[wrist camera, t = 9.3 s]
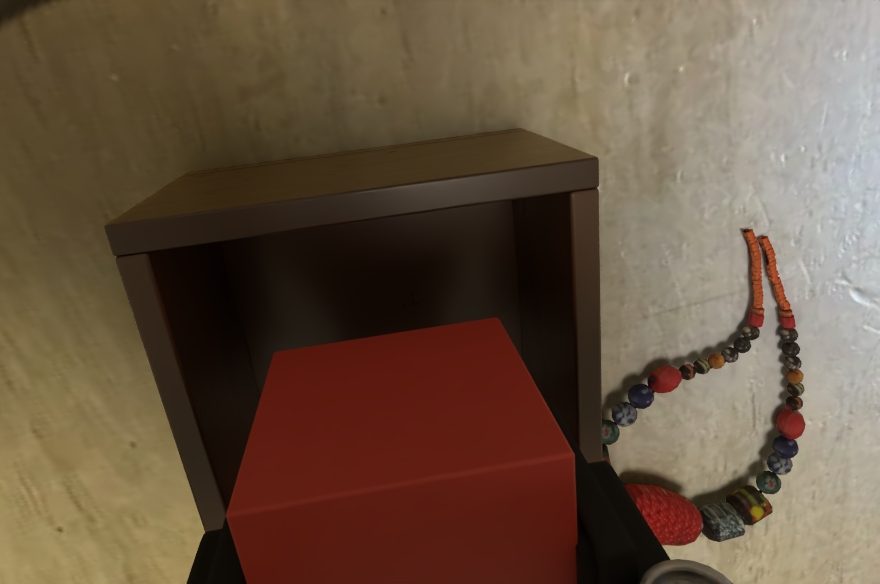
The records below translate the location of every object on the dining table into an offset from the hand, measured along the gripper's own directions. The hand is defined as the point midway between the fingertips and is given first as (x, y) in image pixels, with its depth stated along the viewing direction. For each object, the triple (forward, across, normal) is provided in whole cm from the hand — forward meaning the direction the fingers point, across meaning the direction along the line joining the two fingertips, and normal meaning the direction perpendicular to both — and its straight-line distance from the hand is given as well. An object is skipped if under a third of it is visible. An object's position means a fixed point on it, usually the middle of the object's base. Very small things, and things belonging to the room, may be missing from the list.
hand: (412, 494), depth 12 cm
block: (+1, 0, 0) cm, 1 cm away
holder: (+7, 0, 0) cm, 7 cm away
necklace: (+8, -10, +4) cm, 13 cm away
